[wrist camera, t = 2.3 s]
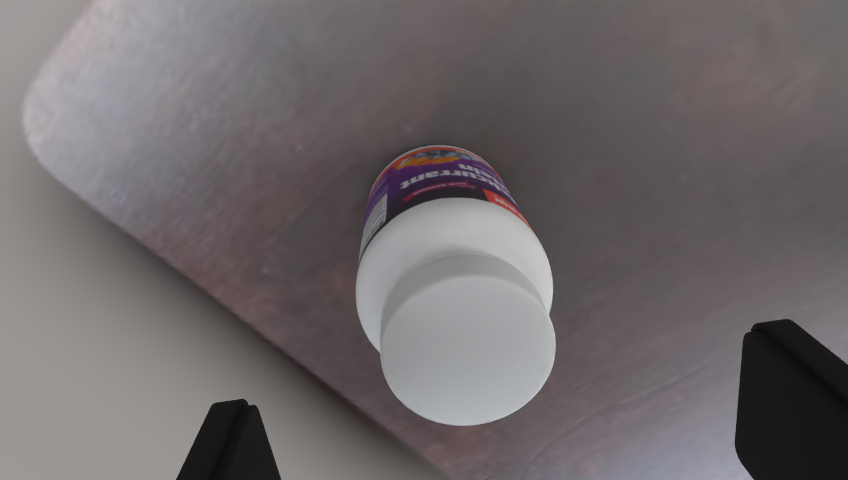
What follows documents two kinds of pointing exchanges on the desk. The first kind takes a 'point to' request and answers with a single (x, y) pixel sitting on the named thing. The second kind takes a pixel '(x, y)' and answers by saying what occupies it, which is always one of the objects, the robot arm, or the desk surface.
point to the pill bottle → (454, 288)
